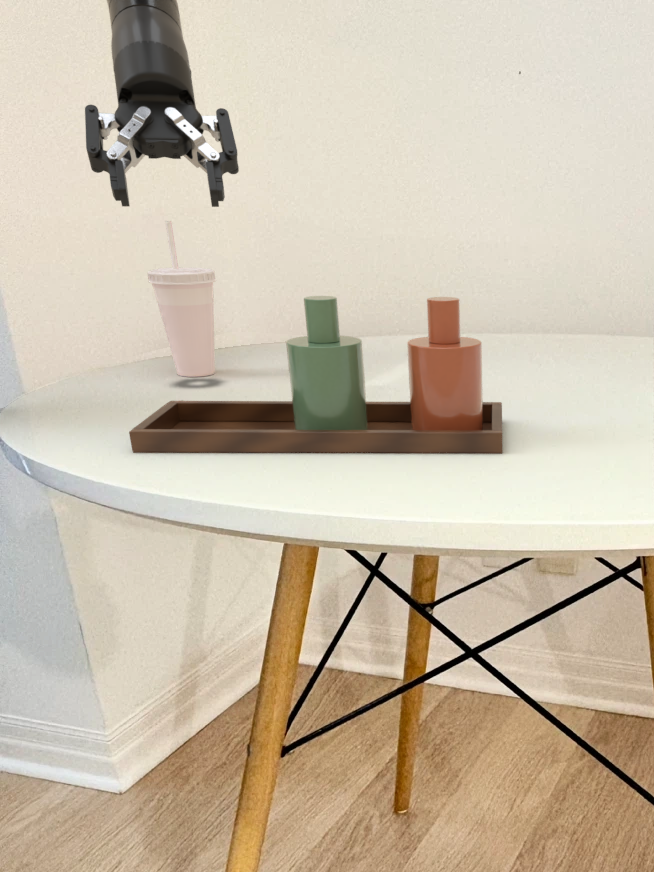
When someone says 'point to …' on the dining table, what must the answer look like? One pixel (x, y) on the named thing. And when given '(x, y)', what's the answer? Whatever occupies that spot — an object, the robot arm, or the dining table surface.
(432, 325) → the ceramic bottles
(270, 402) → the tray
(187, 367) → the smoothie
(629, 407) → the dining table surface
